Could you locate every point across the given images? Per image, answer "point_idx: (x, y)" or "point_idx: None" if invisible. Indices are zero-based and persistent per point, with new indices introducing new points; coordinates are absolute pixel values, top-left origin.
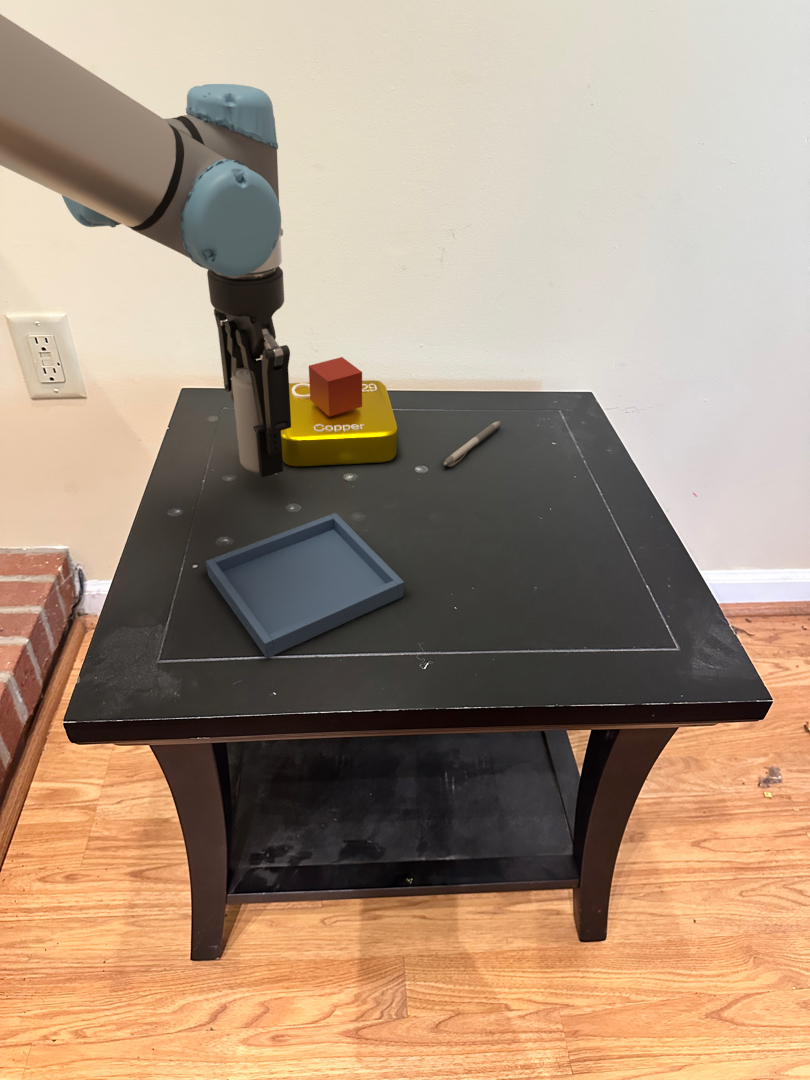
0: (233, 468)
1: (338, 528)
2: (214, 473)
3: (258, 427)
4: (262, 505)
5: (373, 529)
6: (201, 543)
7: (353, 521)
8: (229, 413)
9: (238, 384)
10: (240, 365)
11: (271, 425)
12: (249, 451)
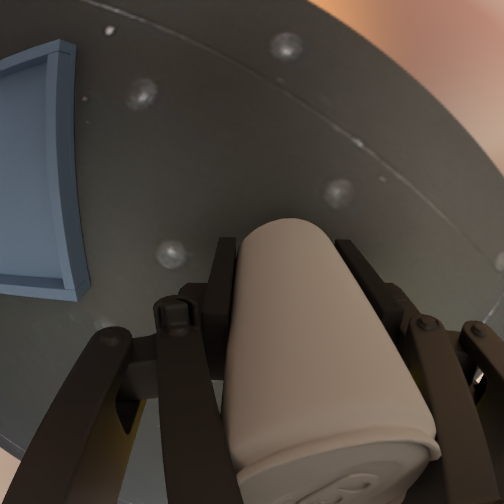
0: (363, 216)
1: (56, 283)
2: (370, 175)
3: (170, 315)
4: (208, 206)
5: (71, 325)
6: (159, 53)
7: (96, 315)
8: (495, 290)
9: (315, 421)
10: (432, 476)
11: (84, 351)
12: (258, 247)
